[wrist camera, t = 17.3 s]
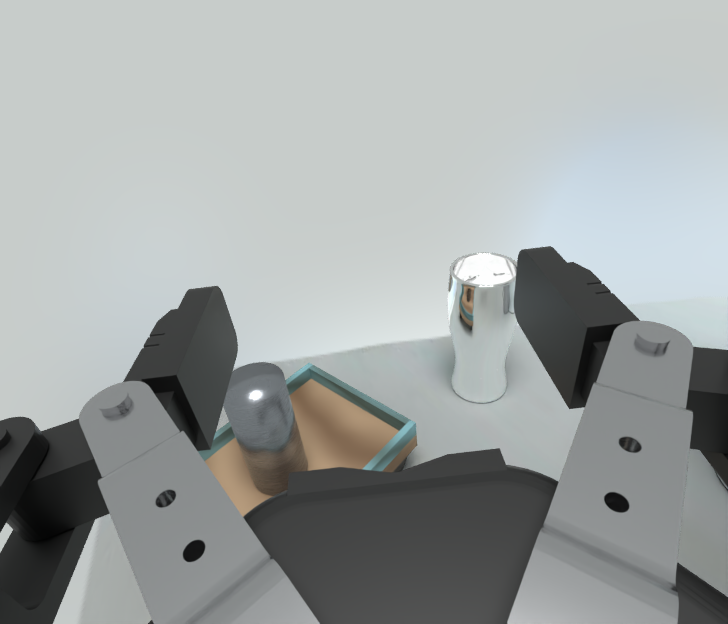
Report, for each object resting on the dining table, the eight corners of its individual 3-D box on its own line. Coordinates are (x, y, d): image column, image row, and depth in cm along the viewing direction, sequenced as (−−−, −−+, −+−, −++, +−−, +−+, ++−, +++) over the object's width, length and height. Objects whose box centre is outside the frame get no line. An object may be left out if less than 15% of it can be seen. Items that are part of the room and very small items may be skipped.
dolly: (318, 402, 51) (309, 362, 48) (418, 465, 43) (415, 422, 39) (154, 537, 39) (127, 497, 36) (248, 660, 31) (224, 623, 28)
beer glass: (434, 382, 52) (432, 268, 43) (476, 355, 55) (482, 244, 46) (480, 416, 47) (488, 296, 38) (524, 385, 50) (539, 267, 41)
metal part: (286, 439, 41) (260, 354, 36) (319, 467, 38) (296, 379, 33) (241, 473, 39) (206, 387, 33) (273, 506, 35) (240, 417, 30)
